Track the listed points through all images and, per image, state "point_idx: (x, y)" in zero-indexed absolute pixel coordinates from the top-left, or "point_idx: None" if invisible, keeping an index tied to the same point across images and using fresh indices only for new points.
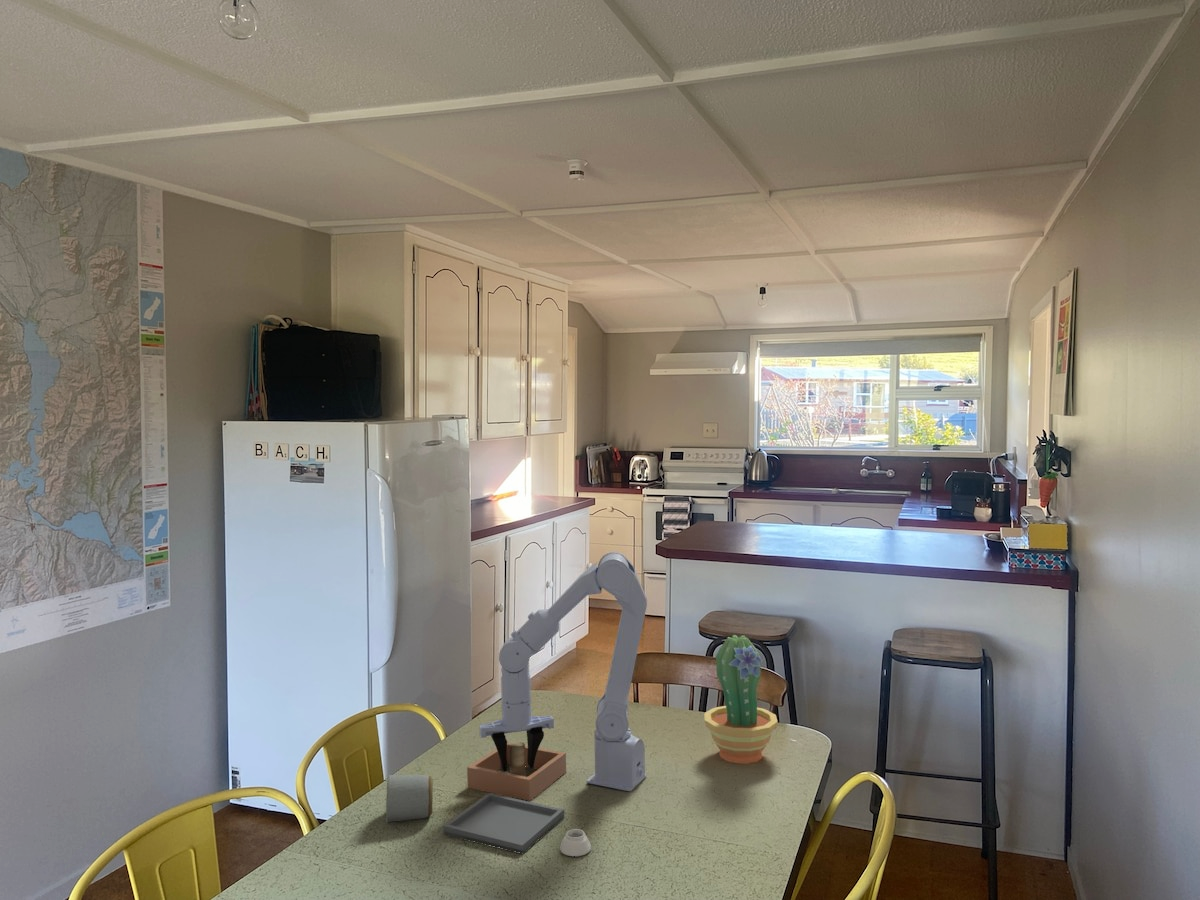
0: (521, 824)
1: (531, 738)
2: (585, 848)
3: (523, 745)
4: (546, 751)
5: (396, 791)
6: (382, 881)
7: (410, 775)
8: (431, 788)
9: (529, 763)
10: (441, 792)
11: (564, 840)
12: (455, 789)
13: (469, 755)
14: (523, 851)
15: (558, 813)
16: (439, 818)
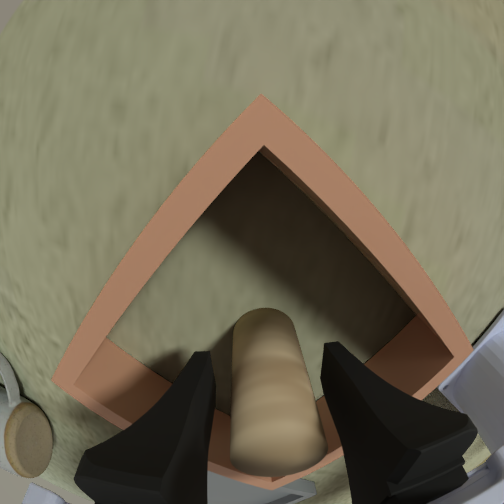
0: (228, 497)
1: (358, 501)
2: None
3: (313, 462)
4: (433, 326)
5: None
6: (66, 487)
7: None
8: (36, 476)
9: (325, 379)
10: (26, 331)
11: None
12: (53, 329)
13: (99, 24)
14: None
15: (300, 500)
16: (68, 430)
